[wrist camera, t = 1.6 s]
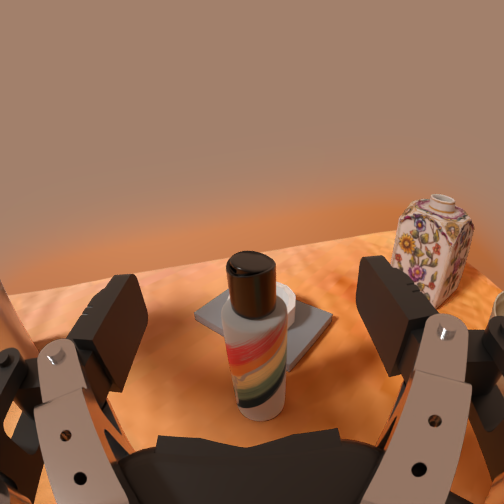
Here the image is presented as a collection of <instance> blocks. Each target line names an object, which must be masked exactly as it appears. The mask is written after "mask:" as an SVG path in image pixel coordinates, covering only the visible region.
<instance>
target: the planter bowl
mask: <svg viewBox="0 0 504 504" xmlns="http://www.w3.org/2000/svg"><path fill="white" fill-rule="evenodd" d="M495 316H504V291H503V292H501V293H500V294H499V295H498V296H497V297H496V299H495V302H494V305H493V309H492V313H491V316H490V319H491V318H492V317H495ZM490 319H489V321H490ZM488 323H489V322H488ZM496 384H497V386H498V388H499V390H500V391H501V393H502V395H503V397H504V377H503V375H502V376H501V377H500V379H499V380H498V382H497V383H496Z"/></svg>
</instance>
